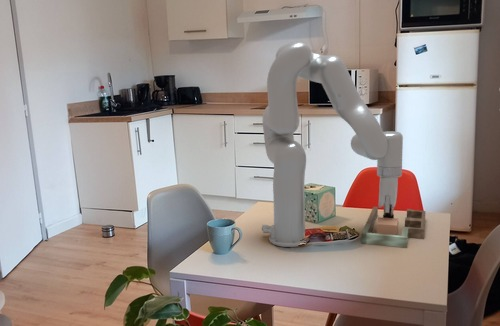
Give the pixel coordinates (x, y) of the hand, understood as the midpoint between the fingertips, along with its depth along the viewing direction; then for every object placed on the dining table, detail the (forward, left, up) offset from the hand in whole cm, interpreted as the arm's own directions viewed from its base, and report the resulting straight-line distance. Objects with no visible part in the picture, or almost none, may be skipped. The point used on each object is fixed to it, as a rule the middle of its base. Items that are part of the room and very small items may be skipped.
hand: (388, 226), depth 157 cm
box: (+2, +1, -1) cm, 3 cm away
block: (0, -6, -1) cm, 6 cm away
